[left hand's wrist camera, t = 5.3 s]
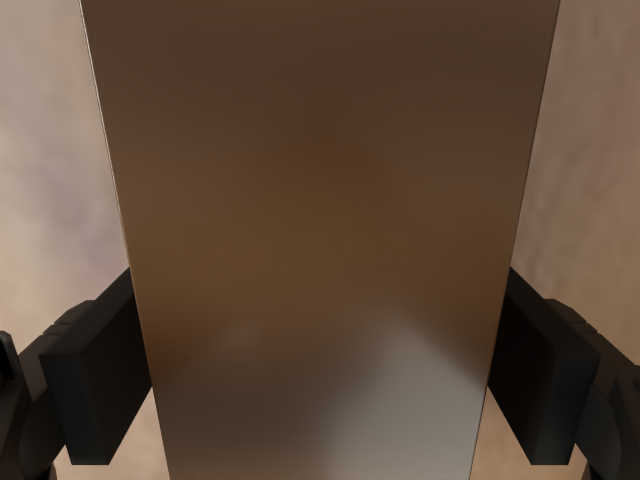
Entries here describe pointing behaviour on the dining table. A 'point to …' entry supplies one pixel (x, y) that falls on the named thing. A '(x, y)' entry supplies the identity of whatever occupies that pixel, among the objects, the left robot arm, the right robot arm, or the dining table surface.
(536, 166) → the dining table surface
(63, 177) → the dining table surface
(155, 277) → the beam
